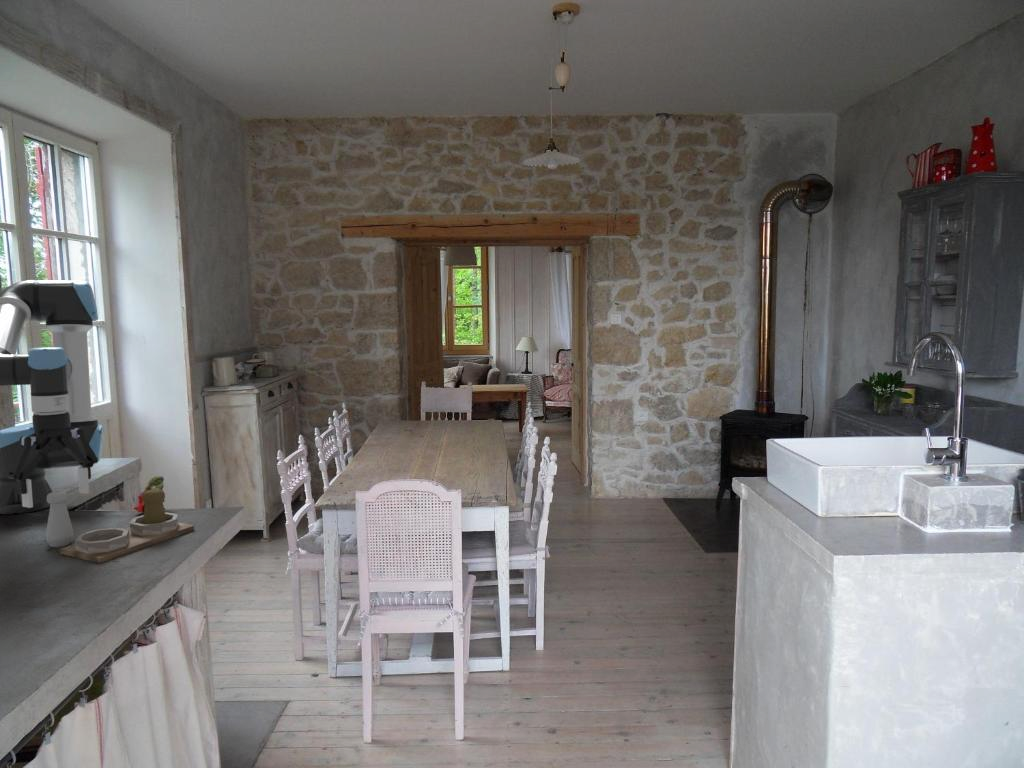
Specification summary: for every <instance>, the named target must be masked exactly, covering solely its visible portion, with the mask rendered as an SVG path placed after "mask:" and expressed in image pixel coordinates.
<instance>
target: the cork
mask: <svg viewBox="0 0 1024 768" xmlns="http://www.w3.org/2000/svg"><path fill="white" fill-rule="evenodd" d="M144 491H145V490H144ZM144 491H143V492H144ZM143 492H142V493H143ZM165 498H166V494H165V492H164V490H163V489H162V490H160V489H152V490H148V491H145V492H144V493H143V495H142V500H143V502H144V503H145V508H144V513H143V515H144V518H143V524H144V525H145V524H156V523H162V522H165V521H166V516H165V512H166V510H165V511H164V508H165V507H164V502H163V501H164V500H165Z"/></svg>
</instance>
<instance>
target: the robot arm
mask: <svg viewBox="0 0 1024 768" xmlns="http://www.w3.org/2000/svg"><path fill="white" fill-rule="evenodd" d="M98 320H99V316H98V308H97V304H96V299H95V295H94V291H93V288H92V286H91V284H90V283H89V282H87V281H84V280H72V279H70V280H69V279H67V280H63V279H56V280H55V279H54V280H48V279H46V280H45V279H44V280H43V279H41V280H40V279H39V280H37V279H27V280H22V281H18V282H15V283H13V284H9V285H8V286H7V287H5V288H4V289H1V290H0V387H2V386H5V387H6V386H29V385H30V401H31V402H30V403H31V404H30V405H31V412H33V415H31V416H32V417H31V419H32V423H27V424H26V423H25V424H20V425H15V426H11V427H8V428H4V429H0V515H15V514H14V513H18V514H25V512H26V513H31V512H35V511H41V510H43V509H47V508H50V503H48V502H47V495H48V494H49V493H52V492H53V489H52V488H51V485H50V484H49V482H48V479H47V477H46V476H47V475H46V470H49V469H62V468H72V467H73V468H75V467H77V475H78V477H77V478H78V491H79V492H78V493H79V494H82V495H83V494H85V495H87V494H90V486H89V485H90V482H89V480H91V479H92V472H91V471H92V470H91V469H92V467H94V465H96V464H98V463H99V462H100V460H101V457H102V453H103V446H104V434H105V433H104V429H105V427H104V426H103V424H99V420H98V418H97V417H96V416H94V415H93V414H92V401H91V384H90V382H91V381H90V365H89V364H90V363H89V362H90V361H89V348H88V347H89V346H88V332H89V331H90V330H91V329H92V328H93V327H94V326H93V322H96V321H97V322H98ZM32 321H33V322H35V321H37V322H45V328H46V329H48V330H49V331H50V332H51V333H52V347H51V346H50V347H48V346H47V347H46V346H45V347H32V348H30V349H29V350H28V352H27V353H28V354H26V353H25V354H23V353H21V354H17V350H18V348H19V343H20V340H21V337H22V333H23V330H24V326H25V325H27V324H28V323H29V322H32Z"/></svg>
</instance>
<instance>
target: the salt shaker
mask: <svg viewBox="0 0 1024 768" xmlns="http://www.w3.org/2000/svg"><path fill="white" fill-rule="evenodd" d="M68 499H69V497H68V493H67V492H66V491H64V490H63V491H62V490H58V491H52V493H49V494H48V495H47V502H48V503H50V507H49V511H48V517H47V518H48V519H47V525H46V532H45V539H46V541H47V543H48V544H49V546H50V548H62V547H66V545H67V546H69V545H70V544H71V543H72V542H73V538H74V534H75V533H74V529H73V526H72V521H71V518H70V514H69V511H68V506H67V503H66V502H68ZM61 546H62V547H61Z"/></svg>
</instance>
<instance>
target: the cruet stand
mask: <svg viewBox="0 0 1024 768" xmlns="http://www.w3.org/2000/svg"><path fill="white" fill-rule="evenodd" d="M165 516H166V521H165V522H162V523H156V524H145V525H144V524H143V518H144V514H143V515H140V516H136V517H133V518H132V519H131V521H130V522H129V526H128V527H123V528H122V527H109V528H108V527H107V528H97V529H93V530H90V531H87V532H84V533H80V534H78V536H77V537H76V539H74V541H75V543H73V544H71V545H70V544H69V545H67V546H62V547H59V549H58V550H59V554H60V555H63V554H64V556H68V557H71V556H72V557H73V558H75V557H76V559H80V560H84V561H88V560H89V561H88V562H92V561H93V562H92V563H96V562H97V563H96V564H101V562H102V563H104V561H105V562H107V561H110V560H113V559H115V557H116V558H119V557H121V555H122V556H125V555H127V554H130V553H132V551H133V552H135V550H136V551H138V549H139V550H141V548H142V549H144V548H147V547H150V546H152V544H153V545H155V543H156V544H158V542H159V543H161V541H162V542H164V541H167V540H170V539H172V537H173V538H176V537H178V536H177V535H179V536H181V535H180V534H182V535H184V534H186V532H187V533H189V531H190V532H192V530H193V531H195V525H193V524H188V523H184V522H183V523H182V522H179V514H178V513H173V512H167V511H165ZM183 533H184V534H183ZM175 536H176V537H175ZM169 538H170V539H169ZM166 539H167V540H166ZM149 545H150V546H149ZM129 552H130V553H129ZM124 554H125V555H124ZM118 556H119V557H118ZM112 558H113V559H112ZM109 559H110V560H109Z"/></svg>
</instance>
